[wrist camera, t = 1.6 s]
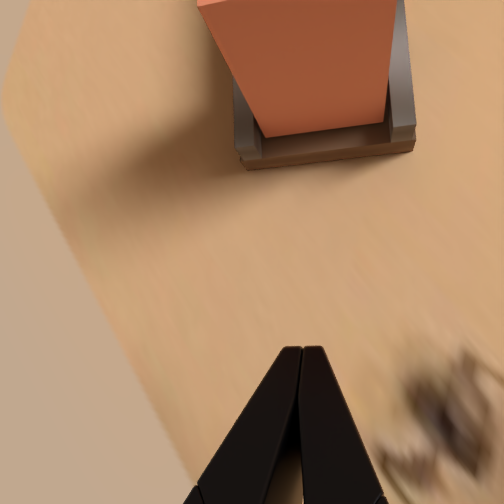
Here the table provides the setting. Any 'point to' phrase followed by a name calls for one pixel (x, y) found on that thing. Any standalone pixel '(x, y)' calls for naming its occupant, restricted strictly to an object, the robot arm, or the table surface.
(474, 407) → the table surface
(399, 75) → the rail housing
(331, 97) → the pink upright rectangular block
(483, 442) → the table surface
